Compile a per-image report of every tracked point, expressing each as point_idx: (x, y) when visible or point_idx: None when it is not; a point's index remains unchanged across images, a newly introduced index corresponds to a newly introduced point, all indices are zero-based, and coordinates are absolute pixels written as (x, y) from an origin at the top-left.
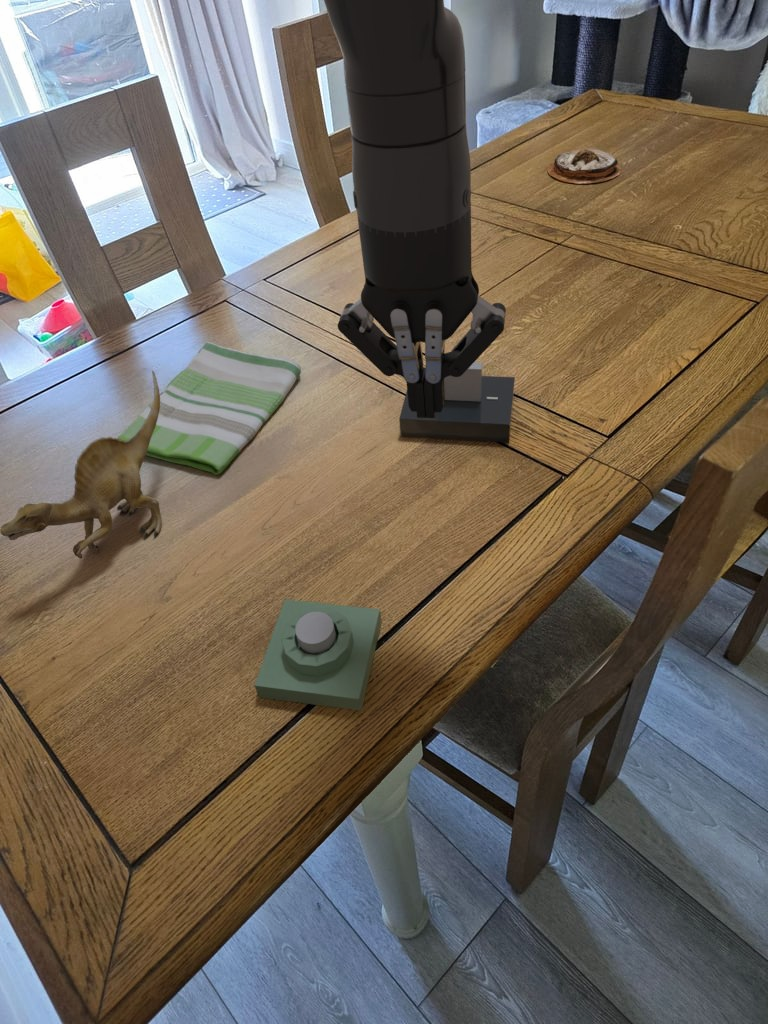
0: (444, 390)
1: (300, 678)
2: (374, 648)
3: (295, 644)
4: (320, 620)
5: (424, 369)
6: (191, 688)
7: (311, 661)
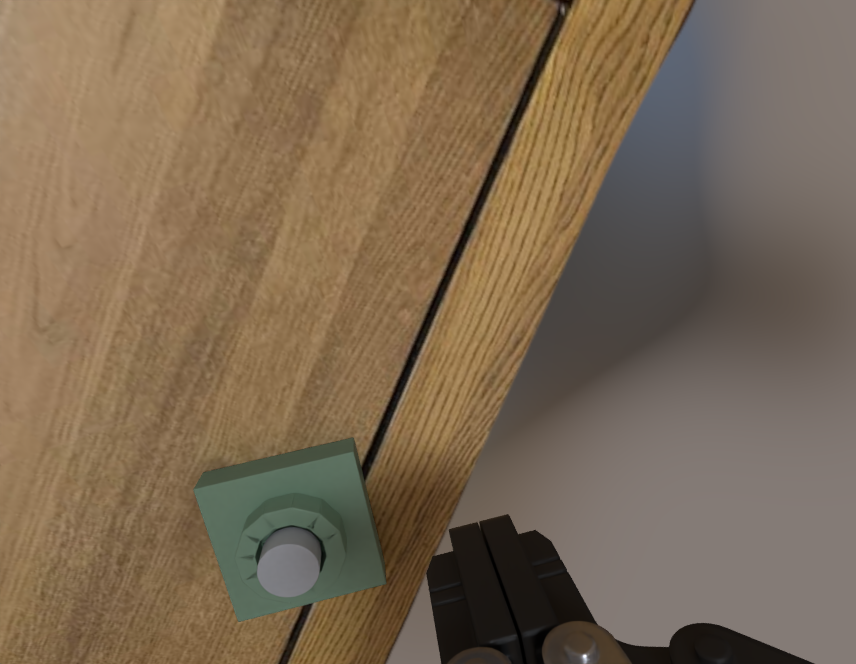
0: (563, 566)
1: None
2: (365, 488)
3: None
4: (291, 557)
5: (513, 651)
6: (144, 623)
7: (306, 593)
